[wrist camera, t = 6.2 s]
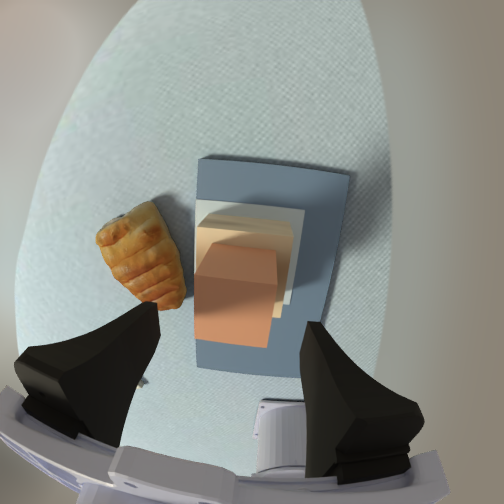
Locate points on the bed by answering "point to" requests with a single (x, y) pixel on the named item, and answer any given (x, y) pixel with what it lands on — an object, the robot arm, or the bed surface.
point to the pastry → (144, 256)
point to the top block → (235, 295)
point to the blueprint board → (302, 255)
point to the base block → (249, 242)
